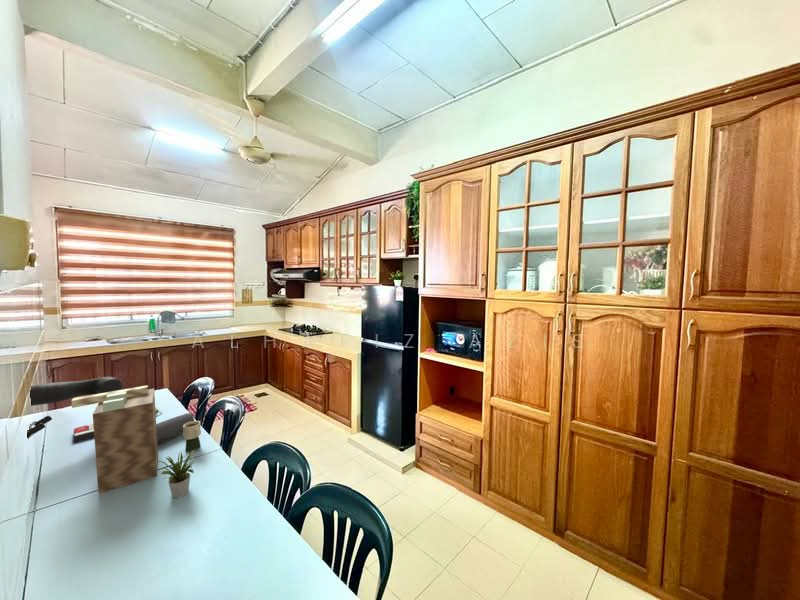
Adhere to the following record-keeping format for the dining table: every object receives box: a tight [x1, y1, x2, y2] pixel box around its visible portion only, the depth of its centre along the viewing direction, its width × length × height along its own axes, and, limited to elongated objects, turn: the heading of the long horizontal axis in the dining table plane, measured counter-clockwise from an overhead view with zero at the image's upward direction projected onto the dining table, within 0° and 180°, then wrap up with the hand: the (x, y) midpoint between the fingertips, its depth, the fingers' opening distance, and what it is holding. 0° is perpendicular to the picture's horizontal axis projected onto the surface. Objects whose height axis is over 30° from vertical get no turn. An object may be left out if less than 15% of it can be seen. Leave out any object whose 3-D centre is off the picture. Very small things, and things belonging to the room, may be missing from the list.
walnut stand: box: [92, 388, 159, 495], centre depth 134 cm, size 18×22×32 cm
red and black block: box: [73, 423, 94, 444], centre depth 169 cm, size 11×4×15 cm
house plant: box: [154, 449, 197, 499], centre depth 119 cm, size 14×14×16 cm
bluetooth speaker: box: [156, 412, 195, 445], centre depth 163 cm, size 23×9×10 cm, turn 154°
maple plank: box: [71, 385, 149, 409], centre depth 134 cm, size 24×4×3 cm, turn 130°
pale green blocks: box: [103, 392, 127, 412], centre depth 127 cm, size 6×12×4 cm, turn 37°
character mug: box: [182, 420, 202, 453], centre depth 152 cm, size 11×7×13 cm, turn 58°
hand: (47, 420), depth 123 cm, fingers open, 8 cm apart
